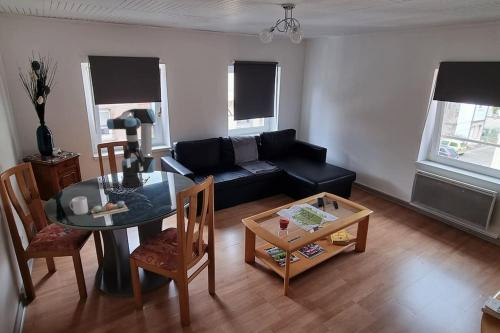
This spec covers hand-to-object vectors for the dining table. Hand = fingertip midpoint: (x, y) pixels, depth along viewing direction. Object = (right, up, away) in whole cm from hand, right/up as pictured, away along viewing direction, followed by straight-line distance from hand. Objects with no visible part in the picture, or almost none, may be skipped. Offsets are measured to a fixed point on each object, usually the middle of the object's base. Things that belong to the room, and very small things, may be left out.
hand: (135, 169), depth 224 cm
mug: (-33, -30, -13) cm, 47 cm away
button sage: (-20, -29, -14) cm, 38 cm away
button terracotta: (-14, -28, -10) cm, 33 cm away
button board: (-14, -29, -10) cm, 34 cm away
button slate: (-8, -27, -6) cm, 29 cm away
